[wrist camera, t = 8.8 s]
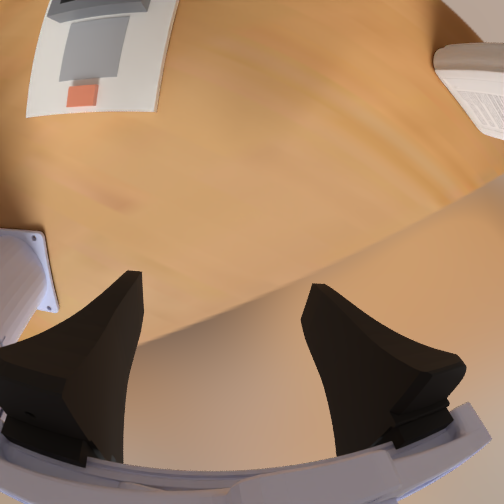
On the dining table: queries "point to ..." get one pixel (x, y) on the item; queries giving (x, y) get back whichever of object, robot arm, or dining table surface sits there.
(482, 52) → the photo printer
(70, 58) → the white flat rectangular base
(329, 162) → the dining table surface
